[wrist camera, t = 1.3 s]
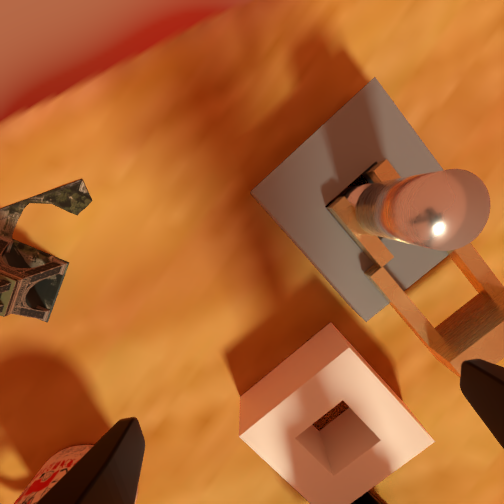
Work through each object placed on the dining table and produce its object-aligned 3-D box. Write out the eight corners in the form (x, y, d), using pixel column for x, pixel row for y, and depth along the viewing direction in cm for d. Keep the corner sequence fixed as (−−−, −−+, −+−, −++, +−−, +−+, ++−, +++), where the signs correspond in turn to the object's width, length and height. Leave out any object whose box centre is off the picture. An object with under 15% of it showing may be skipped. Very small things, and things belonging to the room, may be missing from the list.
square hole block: (403, 401, 23) (434, 441, 20) (314, 469, 24) (328, 520, 21) (330, 321, 22) (349, 347, 18) (240, 396, 23) (238, 436, 19)
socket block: (450, 222, 21) (484, 225, 18) (349, 306, 22) (366, 322, 19) (354, 96, 19) (374, 76, 16) (250, 193, 20) (251, 191, 17)
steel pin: (381, 209, 21) (505, 213, 11) (348, 237, 21) (440, 266, 11) (355, 177, 20) (460, 150, 10) (322, 206, 20) (393, 207, 11)
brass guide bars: (506, 304, 19) (551, 321, 16) (436, 358, 19) (468, 384, 17) (390, 151, 17) (418, 141, 14) (316, 217, 17) (329, 219, 15)
